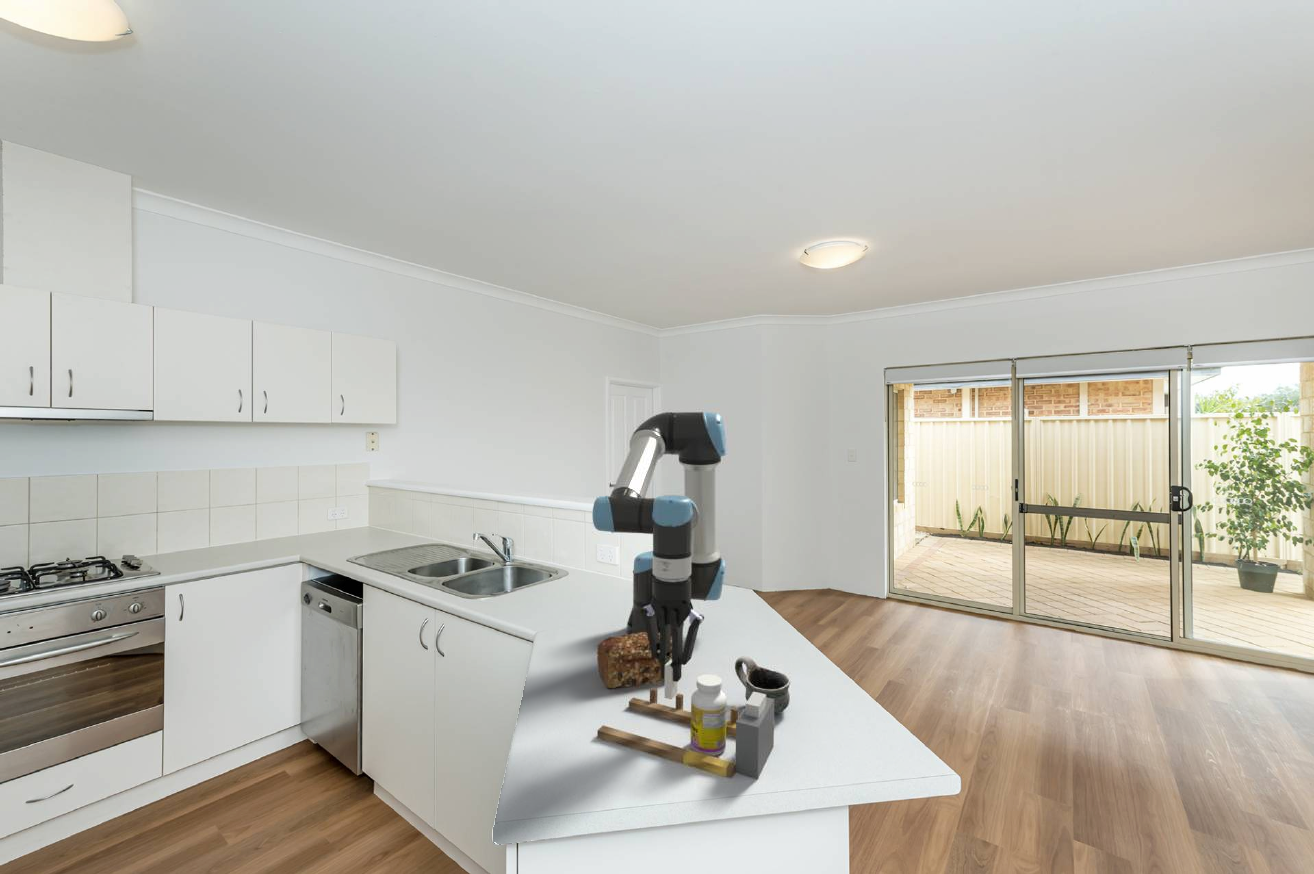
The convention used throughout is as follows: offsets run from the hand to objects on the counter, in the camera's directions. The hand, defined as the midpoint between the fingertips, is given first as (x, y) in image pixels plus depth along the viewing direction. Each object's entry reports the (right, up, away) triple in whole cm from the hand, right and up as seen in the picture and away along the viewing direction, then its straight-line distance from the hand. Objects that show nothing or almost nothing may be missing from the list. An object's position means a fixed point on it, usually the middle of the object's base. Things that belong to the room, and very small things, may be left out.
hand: (670, 695), depth 108 cm
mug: (+19, -8, +10) cm, 23 cm away
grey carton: (+15, -8, -8) cm, 19 cm away
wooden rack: (+1, -8, -1) cm, 8 cm away
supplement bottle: (+7, -8, -4) cm, 11 cm away
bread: (-7, -7, +25) cm, 27 cm away
